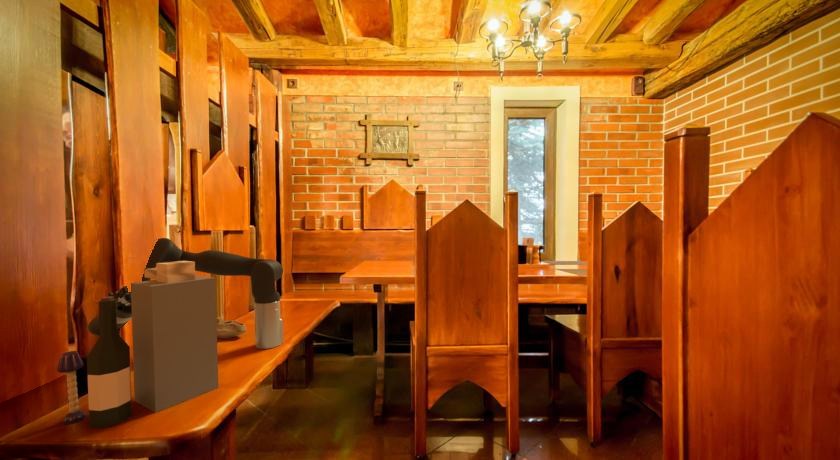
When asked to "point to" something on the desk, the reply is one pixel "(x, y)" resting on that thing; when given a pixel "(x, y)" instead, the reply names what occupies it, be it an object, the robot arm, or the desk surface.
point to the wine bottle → (109, 372)
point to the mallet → (172, 271)
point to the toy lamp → (71, 384)
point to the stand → (174, 341)
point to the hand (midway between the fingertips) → (143, 286)
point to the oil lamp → (229, 328)
